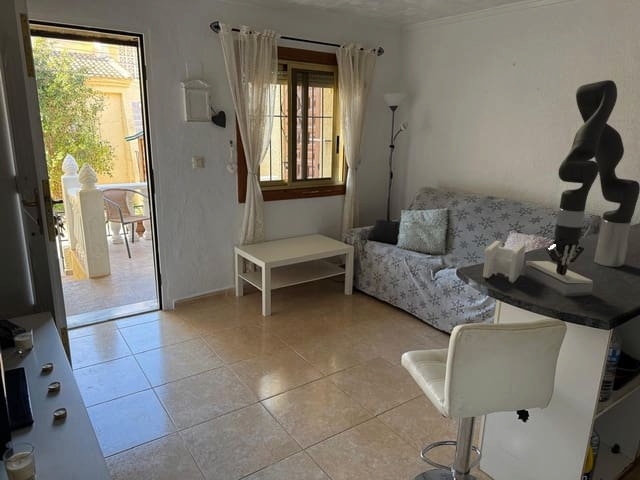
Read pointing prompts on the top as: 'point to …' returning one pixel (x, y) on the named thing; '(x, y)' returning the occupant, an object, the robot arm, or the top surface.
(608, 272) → the top surface
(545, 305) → the top surface
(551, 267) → the duct cover
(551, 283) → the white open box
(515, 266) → the cable organizer
